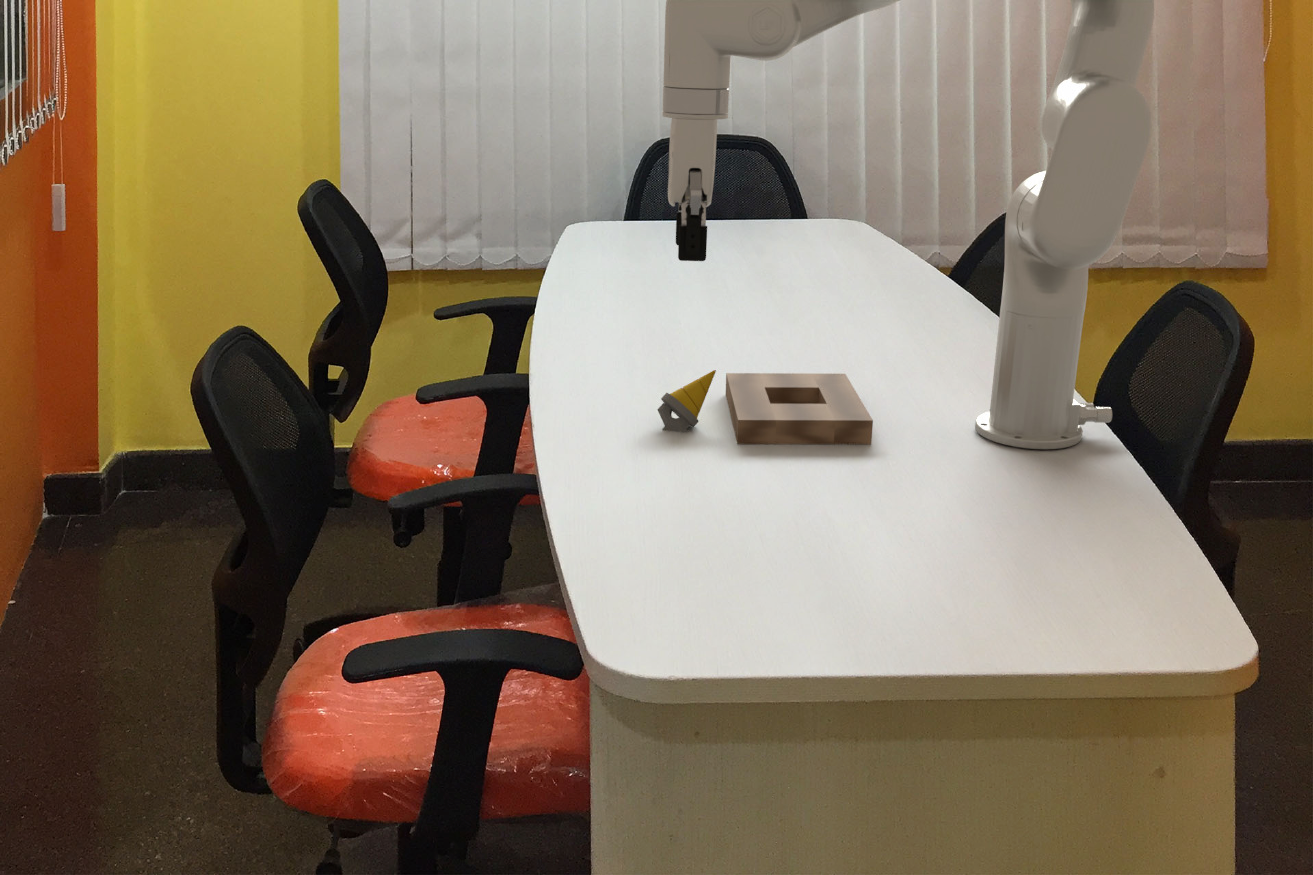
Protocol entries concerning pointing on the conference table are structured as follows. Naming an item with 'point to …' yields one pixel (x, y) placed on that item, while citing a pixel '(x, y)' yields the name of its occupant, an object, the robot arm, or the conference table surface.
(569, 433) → the conference table surface
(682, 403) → the drill bit
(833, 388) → the holder block
